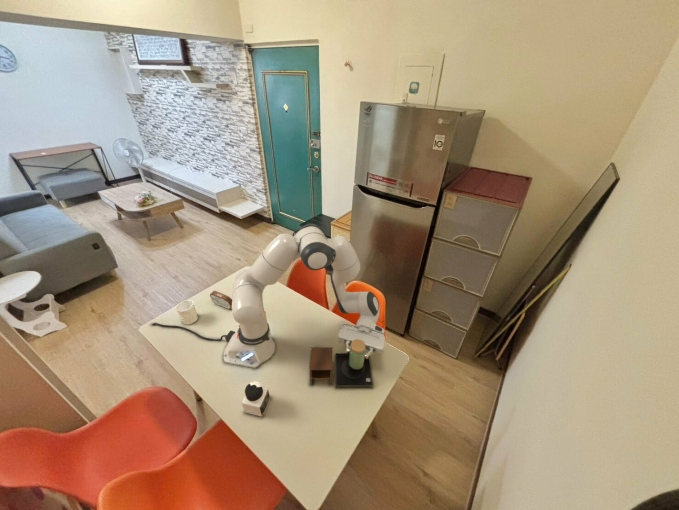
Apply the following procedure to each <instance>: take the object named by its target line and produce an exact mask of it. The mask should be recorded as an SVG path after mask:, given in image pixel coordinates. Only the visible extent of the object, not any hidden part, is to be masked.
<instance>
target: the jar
mask: <svg viewBox="0 0 679 510" xmlns="http://www.w3.org/2000/svg"><path fill="white" fill-rule="evenodd" d="M349 347H350V352H349V365H350V366H351V367H352V368H353V369H360V368H362V367H363V365H364V359H365V358H364V356H365V352H367V350H366V348H365V343H364V342H363V341H362V340H360V339H355V340H353V341H352V342H351V345H349Z"/></svg>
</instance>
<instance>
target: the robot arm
mask: <svg viewBox="0 0 679 510" xmlns="http://www.w3.org/2000/svg"><path fill="white" fill-rule="evenodd" d="M298 259H301V262H302V264H303V265H304V267H305V268H307V269H308V270H311V271H321V270H323V269H325V268H327V267H329V266H331V268H332V270H331V272H330V283H331V285H332V290H333V294H334V295H335V299H336V306H337V309H338V310H339V312H340V313H341V314H343V315H348V314H359V318H358V319H357V321H356V323H355V325H351V324H348V323H346V324H342V325H341V327H340V330H339V332H338V334H337V341H338V342H339V343H341V344H345V348H346V349H345V353H349V352H350V346H351V342H352V341H353V340H355V339H360V340H362V341H363V342H364V343H365V348H366V351H365V356H364V358H366V359H368V356H369V357H370V356H371V355H372V354H373V353H375V354H378V355H383V354H384V352H385V348H386V347H385V346H386V337H385V334H386V333H385V332H386V330H385V329H384V328H383V327H381V326H379V325H377V323H378V322H379V319H380V312H381V307H380V302H379V299H378V297H377V296H376V295H375V293H374V292H372V291H369V290H368V291H347V290H346V288H345V283H348V282H351V281H353V280H355V278H356V277H357V276H358V275H359V274H360V271H361V268H362V267H361V262H360V258H359V256H358V254H357V252H356V249H355V248H354V247H353V245H352V243H351V241H350V240H349V239H348V238H347V237H345V236H343V235H336V236H333V237H331V238H327V237H326V235H325V233H324V231H323V229H322V228H321V227H320V226H319V225H317V224H315V223H307V224H304V225H303V226H301V227H300V228H298V229H296V230H294V231H293V233H292V235H291V234H290V233H285V232H284V233H280V234H278V235H277V236H276V237H275V238H273V239H272V240H271V241H270V242H269V243H268V244H267V245H266V247H265V248H264V249H263V250H262V252H261V253H260V255H259V256H258V257H257V258H256V260H255V261H254V262H253V263H252V265H251V266H249V268H247V269H243V270H241V271H239V272H238V273H237V274H236V277H235V278H234V281H233V286H232V297H231V299H232V308H231V312H232V316H233V319H234V321H235V322H236V323H238V327H239V328H238V329H237V331H235V330H230V331H229V332H228V333H227V334H223V335H221V336H220V338H217V339H214V338H209V337H206V336H202V335H200V334H199V333H197V332H196V331H193V330H191V329H189V328H187V327H185V326H180V325H170V324H169V325H167V324H162V323H158V322H154V323H152V324H151V325H152V326H160V327H164V328H177V329H181V330H185V331H187V332H190V333H192V334H194V335H195V336H196V337H199V338H200V339H202V340H207V341H210V342H211V341H213V342H221V341H222V340H223V338H224V340H225V342H226V343H227V344H226V346H225V348H224V350H223V361H224V363H225V364H230V365H235V366H241V367H247V368H251V369H256V368H258V367H259V366H260V365H261V364H262V363H264V362H266V361H268V360H269V359H270V358H271V357H272V356H273V355H274V353H275V351H276V343H275V341H274V340H273V338H272V336H271V335H272V334H271V328H270V325H269V322H268V319H267V312H266V311H265V307H264V299H263V293H264V290H265V288H266V287H267V286H273V285H276V284H277V283H278V281H279V280H280V279H281V278H282V277H283V275H284V274H285V273H286V271H287V270H288V269H289V267H290V266H291V265H292V264H293V263H294V262H295V261H296V260H298ZM367 351H368V352H367Z"/></svg>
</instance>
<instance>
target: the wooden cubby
mask: <svg viewBox="0 0 679 510" xmlns="http://www.w3.org/2000/svg"><path fill="white" fill-rule="evenodd" d="M333 352H334V351H333V347H332V346H311V347H310V354H309V355H310V358H309V359H310V360H309V369H308V371H309V385H313V380H329V385H333V370H334V369H333V363H334V361H333V360H334V359H333V357H334V356H333V354H334V353H333Z"/></svg>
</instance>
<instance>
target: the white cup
mask: <svg viewBox="0 0 679 510" xmlns="http://www.w3.org/2000/svg"><path fill="white" fill-rule="evenodd" d="M175 310H176V313H177V314H178V316H179V317H180V320H181V321H182V323H183V324H185V325H192V324H194V323H195V322H196V321H197V320H198V318H199V317H198V314H197V309H196V305H195V303H194V301H193V300H191V299H185V300H182V301H180V302H178V303H177V304H176V306H175Z"/></svg>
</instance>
